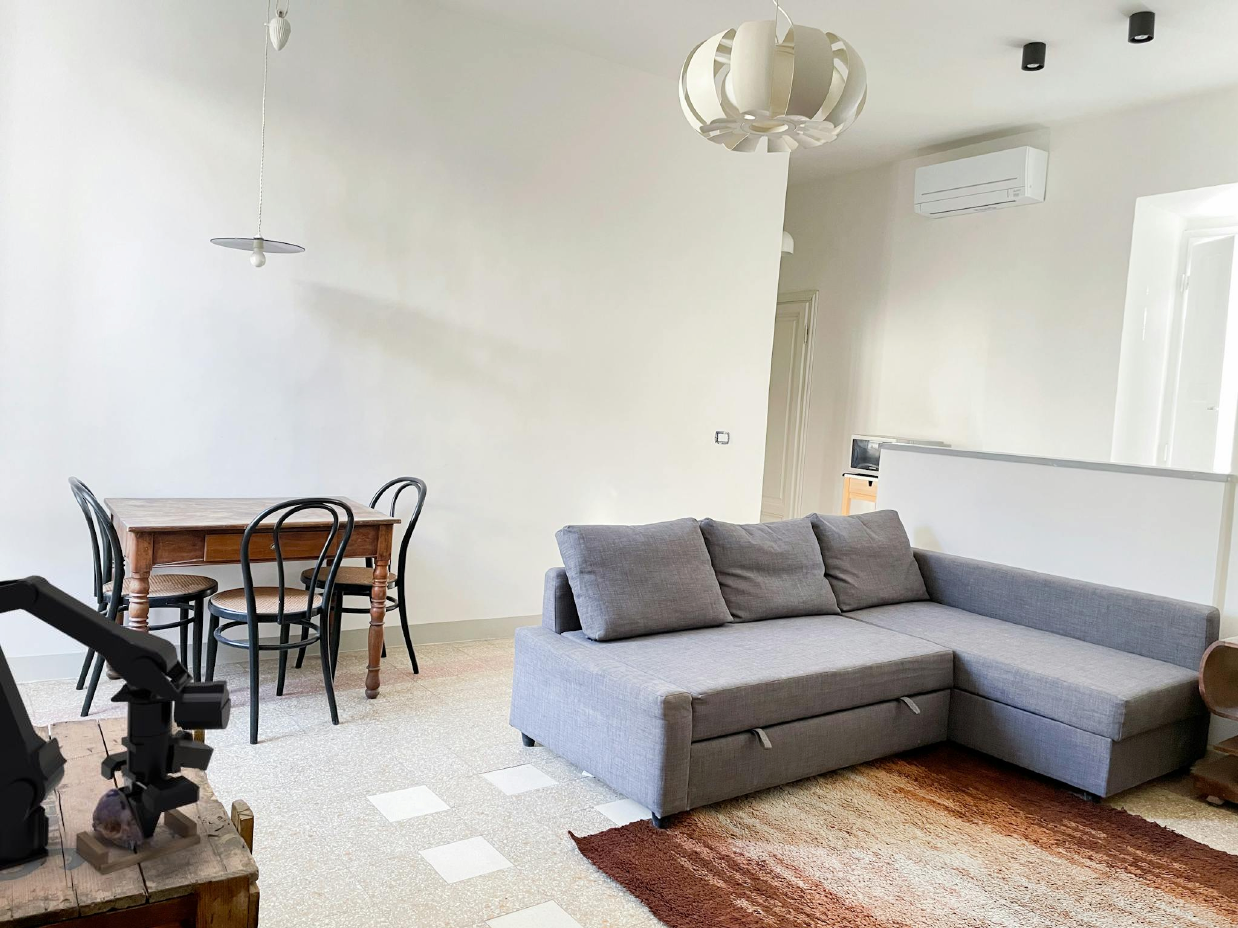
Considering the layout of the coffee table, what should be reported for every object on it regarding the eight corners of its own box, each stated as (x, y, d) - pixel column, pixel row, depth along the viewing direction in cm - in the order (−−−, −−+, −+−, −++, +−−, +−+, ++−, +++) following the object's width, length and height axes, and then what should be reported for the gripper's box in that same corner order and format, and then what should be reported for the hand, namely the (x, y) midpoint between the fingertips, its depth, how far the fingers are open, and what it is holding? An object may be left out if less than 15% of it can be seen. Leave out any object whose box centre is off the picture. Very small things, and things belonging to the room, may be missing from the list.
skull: (167, 846, 133) (168, 805, 132) (108, 862, 127) (109, 819, 127) (141, 816, 141) (142, 777, 141) (85, 829, 136) (86, 789, 136)
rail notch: (102, 874, 124) (102, 856, 124) (75, 850, 130) (76, 833, 130) (200, 842, 134) (201, 825, 134) (171, 821, 140) (172, 805, 140)
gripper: (237, 733, 130) (234, 840, 131) (177, 702, 142) (176, 800, 143) (156, 753, 121) (154, 867, 122) (100, 718, 133) (98, 822, 134)
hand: (148, 837), depth 131 cm, fingers closed
